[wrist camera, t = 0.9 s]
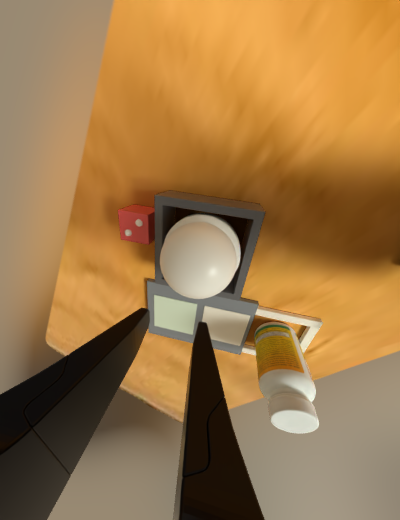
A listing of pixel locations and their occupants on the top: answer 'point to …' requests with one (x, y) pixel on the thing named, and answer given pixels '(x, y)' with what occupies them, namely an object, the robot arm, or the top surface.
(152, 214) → the dome housing
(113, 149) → the top surface
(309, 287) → the top surface
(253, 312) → the game board
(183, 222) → the dome
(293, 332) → the supplement bottle
